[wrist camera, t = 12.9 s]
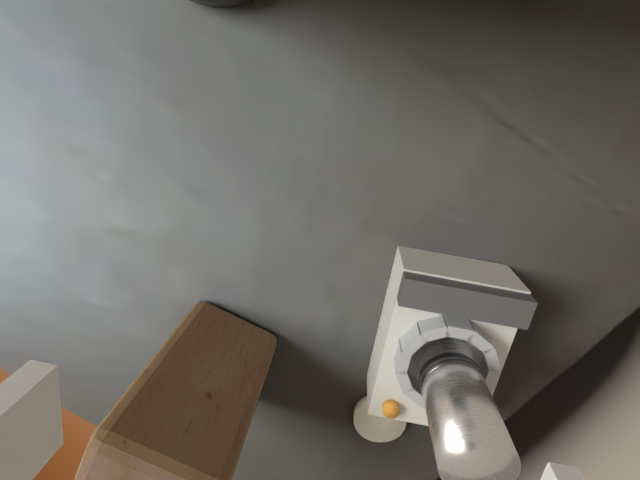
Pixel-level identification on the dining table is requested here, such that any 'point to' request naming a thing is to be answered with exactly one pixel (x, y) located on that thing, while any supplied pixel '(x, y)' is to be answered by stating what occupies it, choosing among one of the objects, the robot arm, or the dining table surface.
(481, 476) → the grey tall rounded cylinder
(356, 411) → the rear cap
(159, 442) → the wooden block
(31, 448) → the robot arm
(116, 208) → the dining table surface
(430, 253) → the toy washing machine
